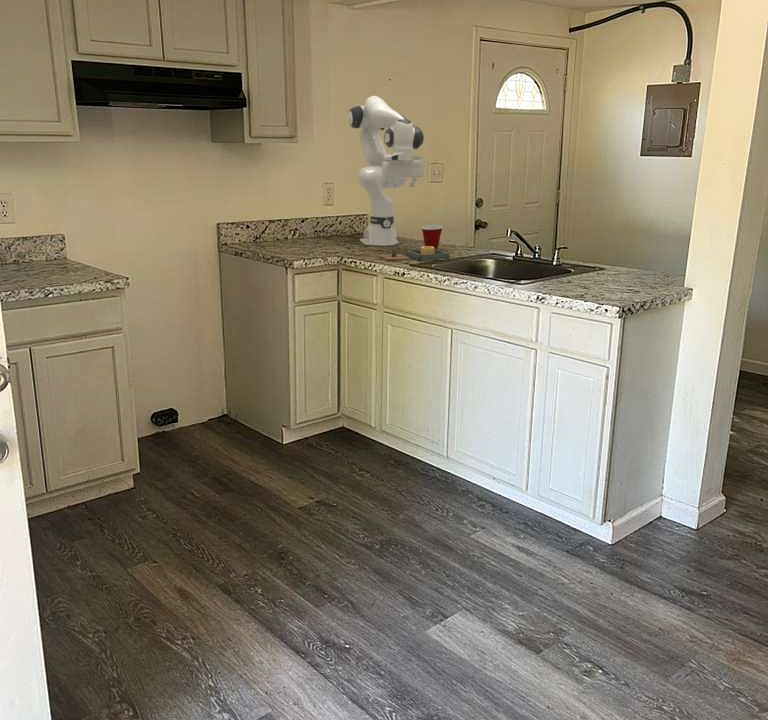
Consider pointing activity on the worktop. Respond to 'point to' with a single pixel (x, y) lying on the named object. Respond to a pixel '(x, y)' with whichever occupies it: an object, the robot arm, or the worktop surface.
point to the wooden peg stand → (393, 255)
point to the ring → (427, 250)
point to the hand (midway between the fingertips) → (402, 187)
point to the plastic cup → (432, 235)
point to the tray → (416, 255)
